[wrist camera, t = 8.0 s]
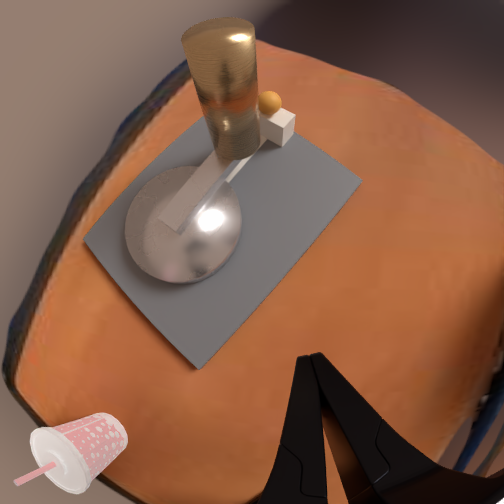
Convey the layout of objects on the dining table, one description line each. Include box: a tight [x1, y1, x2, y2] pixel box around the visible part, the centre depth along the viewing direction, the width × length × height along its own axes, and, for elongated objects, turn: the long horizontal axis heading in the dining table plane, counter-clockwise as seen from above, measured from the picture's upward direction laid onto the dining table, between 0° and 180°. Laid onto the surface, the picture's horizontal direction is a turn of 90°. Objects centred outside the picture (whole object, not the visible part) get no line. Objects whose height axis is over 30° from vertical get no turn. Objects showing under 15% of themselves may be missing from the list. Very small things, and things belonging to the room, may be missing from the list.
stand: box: [83, 91, 363, 370], centre depth 22 cm, size 22×17×6 cm
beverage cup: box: [14, 413, 128, 494], centre depth 13 cm, size 6×6×14 cm
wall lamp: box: [125, 17, 261, 284], centre depth 17 cm, size 15×10×14 cm, turn 145°
